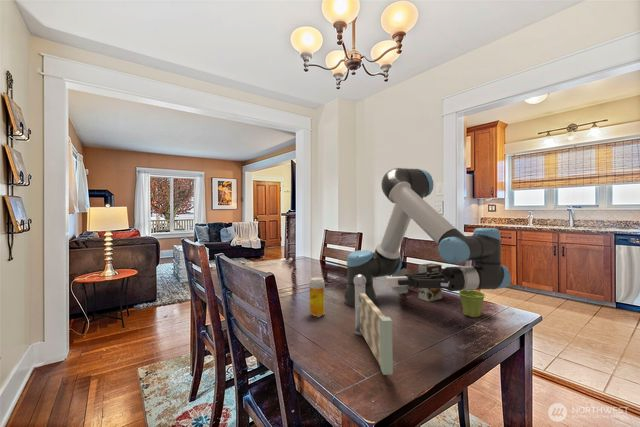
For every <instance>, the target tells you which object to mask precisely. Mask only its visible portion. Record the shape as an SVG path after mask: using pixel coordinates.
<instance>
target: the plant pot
mask: <svg viewBox="0 0 640 427" xmlns="http://www.w3.org/2000/svg"><path fill="white" fill-rule="evenodd" d="M458 294H459V297H460V299H461V306H462V313H463V315H465V316H469V317H471V318H478V317H481V314H482V308H483V302H484V299H485V297H486V294H485V293H484V292H482V291H478V290H469V292H467V291H466V290H461V291H458Z"/></svg>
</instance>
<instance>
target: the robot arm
mask: <svg viewBox="0 0 640 427" xmlns="http://www.w3.org/2000/svg"><path fill="white" fill-rule="evenodd" d="M380 186H381V190H382V192H383V195H384V196H385V197H386V198H387V200H388V201H389V202H391V203H392V204H394V205H393V207H392V208H393V209H392V211H391V215H390V217H389V220H388V223H387V226H386V227H385V231H384V234H383V237H382V238H381V242H380V243H379V244H377V245H376V247H375V250H374V252H373V251H371V250H368V249H362V250H361V249H360V250H355V251H352V252H350V253H348V255H347V257H346V258H347V260H346V265H347V266H346V269H347V273H346V274H347V286H346V290H345V292H344V295H343V296H344V297H343V300H344V301H343V303H344V302H345V303H346V304H345V303H344V304H345V305H347V306H350V307H354V308H355V284H354V277H355V276H356V275H358V274H361V275H363V276H365V278H366V284H365V294H366V295H367V296H368V297H369V299H370V300H371V301H372V302H373V303H374V304H375V306H377V304H378V297H377V294H376V290H375V288H374V279H375V278H380V277H381V278H382V277H385V286H386V287H387V288H392V287H400V286H406V287H407V288H408V287H413V288H414V289H419V288H441V289H442V290H447V291H448V292H459V291H461V290H466V291H467V292H469V290H474V291H478V290H498V289H499V290H501V289H505V288H508V286H509V285H510V284H511V281H512V275H511V274H510V270H509V269H508V267H507V266H505V265H504V264H502V240H501V237H502V236H501V231H500V229H498V228H494V227H476V228H475V229H474V230H473V234H472V235H464V233H462V232H461V231H459V229H457V228H456V227H455V226H454V225H453V224H451V223H450V222H449V221H448V220H447V219H446V218H445V217H444V216H443V215H441V214H440V213H439V212H438V211H437V210H435V208H434V207H433V206H431V205H430V204H429V202H427V201H426V200H424V198H427V197H428V196H430V195H431V194H432V192H433V190H434V179H433V177H432V175H431V173H430V172H429V171H427V170H425V169H420V168H406V167H404V168H402V167H396V168H392V169H390V170H388V171H387V172H386V173H385V174H384V176H383V177H382V179H381V184H380ZM411 220H412V221H413V222H415V223H416V225H417V226H418V227H420V228H421V229H422V231H424V233H426V235H428V236H429V237H430V238H431V239H432V241H433V242H435V243H436V244H437V246H438V248H437V250H438V253H439V255H440V256H439V257H440V258H441V259H442V260H443V261H444V262H446V263H450V264H458V263H459V264H461V263H465V262H469V261H473V265H459V266H446V267H444V268H443V269H442V273H441V274H440V272H434V273H430V272H428V271H427V272H423V273H419V272H415V273H407V274H405V276H401V277H392V275H393V274H396V273H397V272H399V270H400V269H401V266H402V262H401V261H403V259H402V256H401V252H400V248H401V245H402V244H403V241H404V237H405V235H406V232H407V230H408V227H409V225H410V223H411ZM390 275H391V277H390Z"/></svg>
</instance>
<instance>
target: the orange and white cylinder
mask: <svg viewBox="0 0 640 427" xmlns="http://www.w3.org/2000/svg"><path fill="white" fill-rule="evenodd" d="M325 295H326V294H325V280H324V278H323V277H321V276H320V277H318V276H317V277H316V276H315V277H311V278H310V279H309V314H310V315H311V316H312V315H313V316H322V315H323V316H324V315H325V314H326V309H325V308H326V307H325V305H326V303H325V301H326V299H325ZM313 316H312V317H313ZM323 316H322V317H323Z"/></svg>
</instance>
